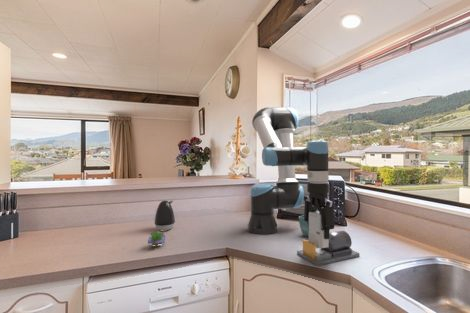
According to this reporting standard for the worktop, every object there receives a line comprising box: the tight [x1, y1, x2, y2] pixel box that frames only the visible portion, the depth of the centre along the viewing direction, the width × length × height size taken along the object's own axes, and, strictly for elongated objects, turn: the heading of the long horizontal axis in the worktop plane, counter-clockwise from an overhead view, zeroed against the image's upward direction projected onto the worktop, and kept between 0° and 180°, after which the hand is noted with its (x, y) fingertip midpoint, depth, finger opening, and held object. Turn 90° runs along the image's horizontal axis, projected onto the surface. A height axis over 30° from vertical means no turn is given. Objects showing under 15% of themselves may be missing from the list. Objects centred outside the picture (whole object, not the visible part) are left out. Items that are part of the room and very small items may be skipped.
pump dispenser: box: [154, 200, 176, 231], centre depth 128 cm, size 10×10×15 cm
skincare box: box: [308, 210, 323, 248], centre depth 91 cm, size 6×4×12 cm
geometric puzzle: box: [147, 229, 166, 248], centre depth 103 cm, size 7×7×8 cm
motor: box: [296, 230, 360, 267], centre depth 93 cm, size 11×20×8 cm, turn 112°
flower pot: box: [298, 214, 309, 237], centre depth 116 cm, size 9×9×9 cm
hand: (318, 244), depth 91 cm, fingers closed on skincare box, 6 cm apart
